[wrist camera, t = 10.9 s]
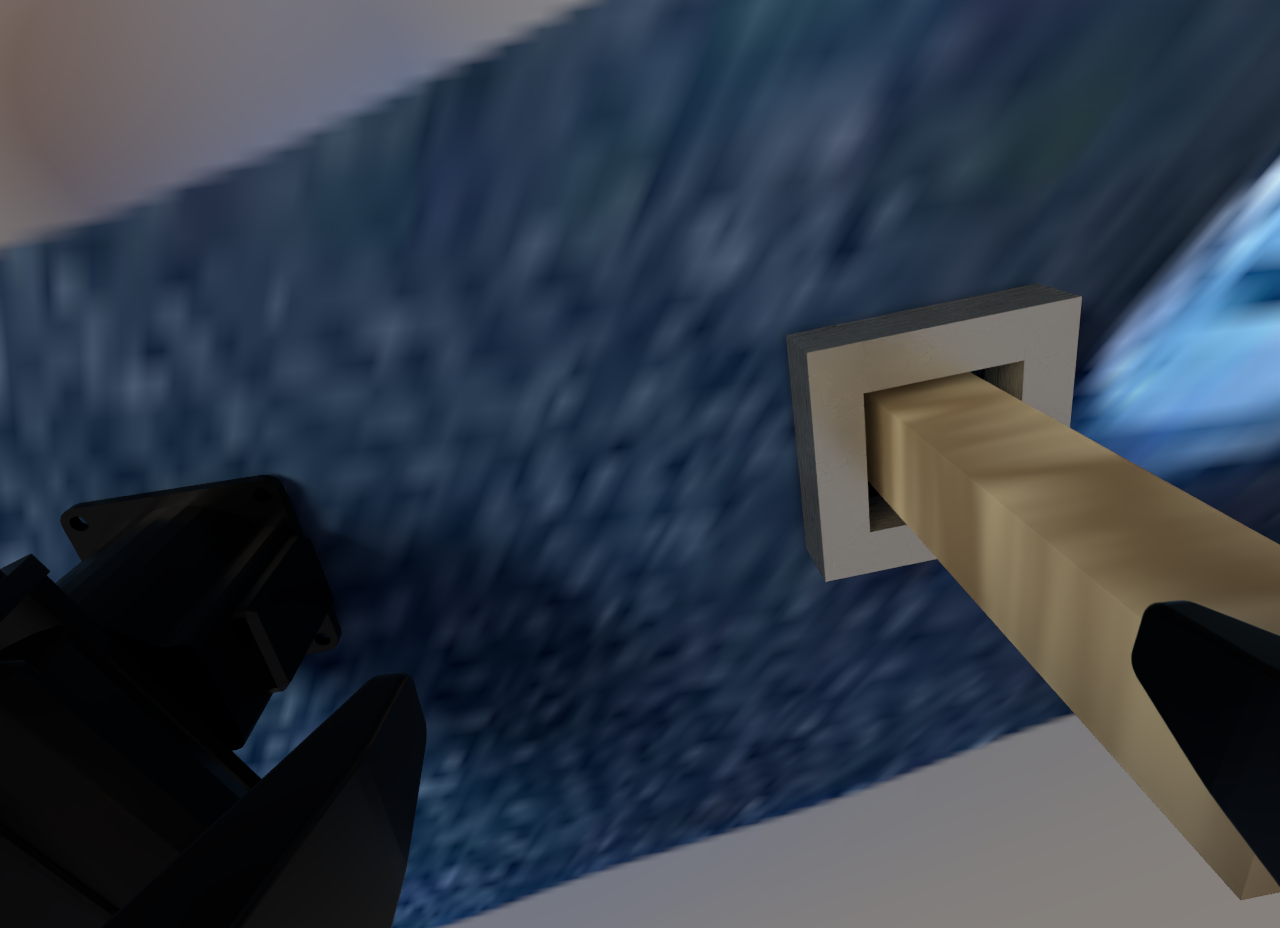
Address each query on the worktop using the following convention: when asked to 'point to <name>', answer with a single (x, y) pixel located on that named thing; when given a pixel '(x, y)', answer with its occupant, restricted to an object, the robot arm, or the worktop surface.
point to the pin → (1074, 568)
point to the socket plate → (899, 355)
